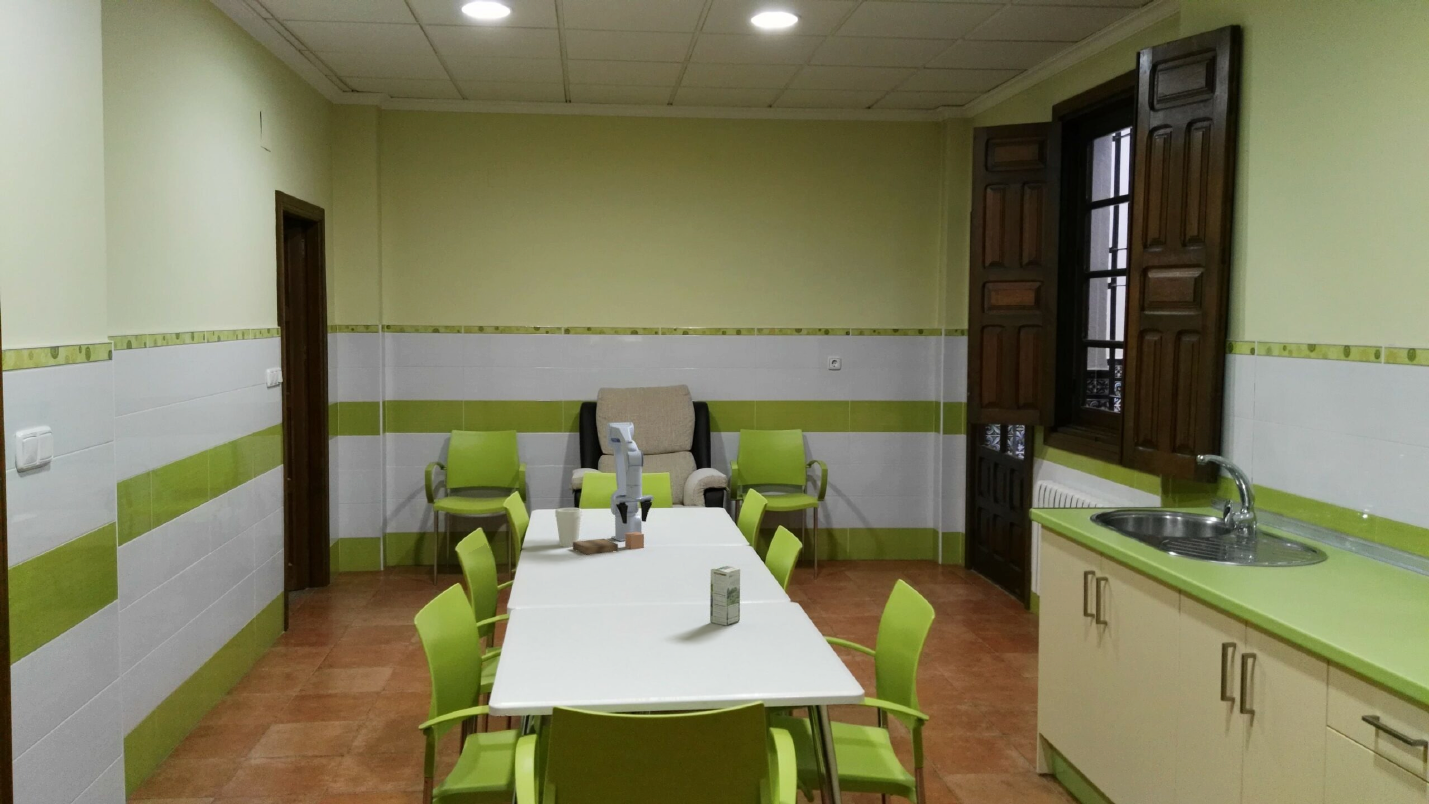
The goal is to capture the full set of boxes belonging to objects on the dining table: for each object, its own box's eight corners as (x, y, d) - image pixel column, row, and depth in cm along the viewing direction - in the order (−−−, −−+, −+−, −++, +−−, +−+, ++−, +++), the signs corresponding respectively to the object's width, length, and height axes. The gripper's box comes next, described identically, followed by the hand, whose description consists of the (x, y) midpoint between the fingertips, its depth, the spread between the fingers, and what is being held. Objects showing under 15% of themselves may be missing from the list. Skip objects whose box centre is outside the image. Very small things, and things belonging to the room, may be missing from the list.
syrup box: (723, 618, 284) (723, 564, 283) (740, 621, 280) (740, 567, 279) (709, 622, 280) (709, 568, 279) (727, 626, 276) (727, 571, 275)
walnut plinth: (603, 546, 383) (603, 538, 383) (618, 552, 373) (617, 544, 373) (573, 550, 377) (572, 541, 377) (586, 556, 367) (586, 547, 367)
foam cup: (579, 547, 379) (579, 511, 378) (554, 547, 379) (553, 511, 378) (583, 542, 388) (583, 507, 388) (558, 542, 389) (558, 507, 388)
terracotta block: (637, 545, 383) (637, 531, 383) (643, 547, 379) (643, 534, 378) (625, 547, 380) (625, 533, 380) (631, 549, 376) (631, 535, 376)
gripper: (620, 487, 371) (620, 525, 372) (657, 484, 378) (657, 522, 379) (611, 485, 377) (612, 522, 378) (648, 482, 384) (648, 519, 385)
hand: (634, 522), depth 379 cm, fingers open, 7 cm apart
